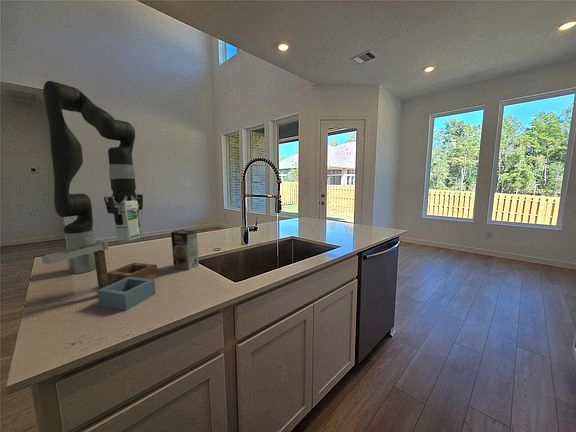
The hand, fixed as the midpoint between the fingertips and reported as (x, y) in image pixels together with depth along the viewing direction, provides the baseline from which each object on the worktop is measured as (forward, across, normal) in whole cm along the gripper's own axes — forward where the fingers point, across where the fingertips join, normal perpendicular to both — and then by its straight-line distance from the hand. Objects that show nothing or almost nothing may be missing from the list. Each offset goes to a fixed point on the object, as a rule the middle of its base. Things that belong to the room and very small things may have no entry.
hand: (127, 223), depth 90 cm
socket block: (+23, +3, 0) cm, 23 cm away
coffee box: (+23, -19, +9) cm, 31 cm away
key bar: (+7, +18, 0) cm, 19 cm away
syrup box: (+6, 0, 0) cm, 6 cm away
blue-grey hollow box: (+23, +12, +11) cm, 28 cm away
